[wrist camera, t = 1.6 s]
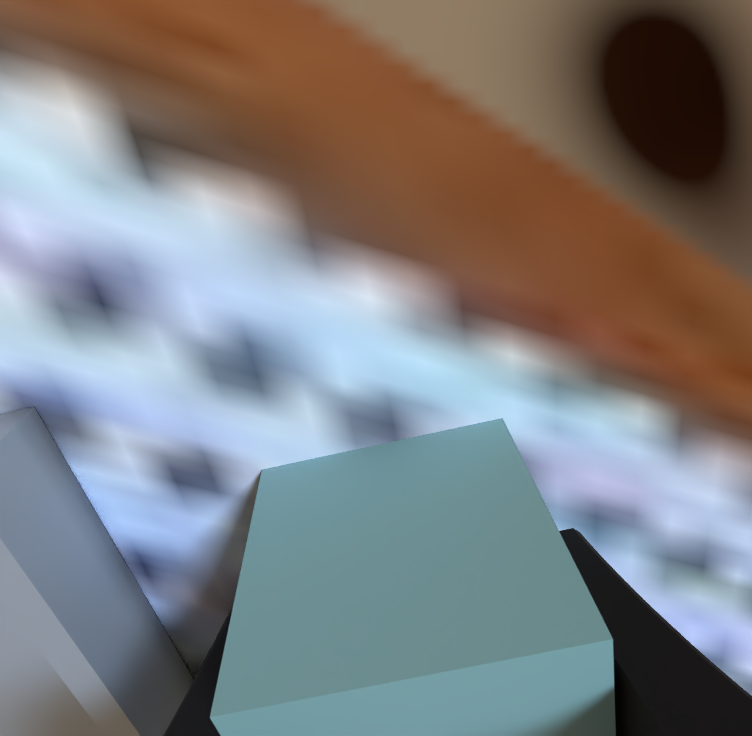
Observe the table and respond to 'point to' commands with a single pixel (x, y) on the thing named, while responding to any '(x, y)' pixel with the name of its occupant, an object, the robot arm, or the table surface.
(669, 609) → the table surface
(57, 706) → the tray
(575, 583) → the teal block
